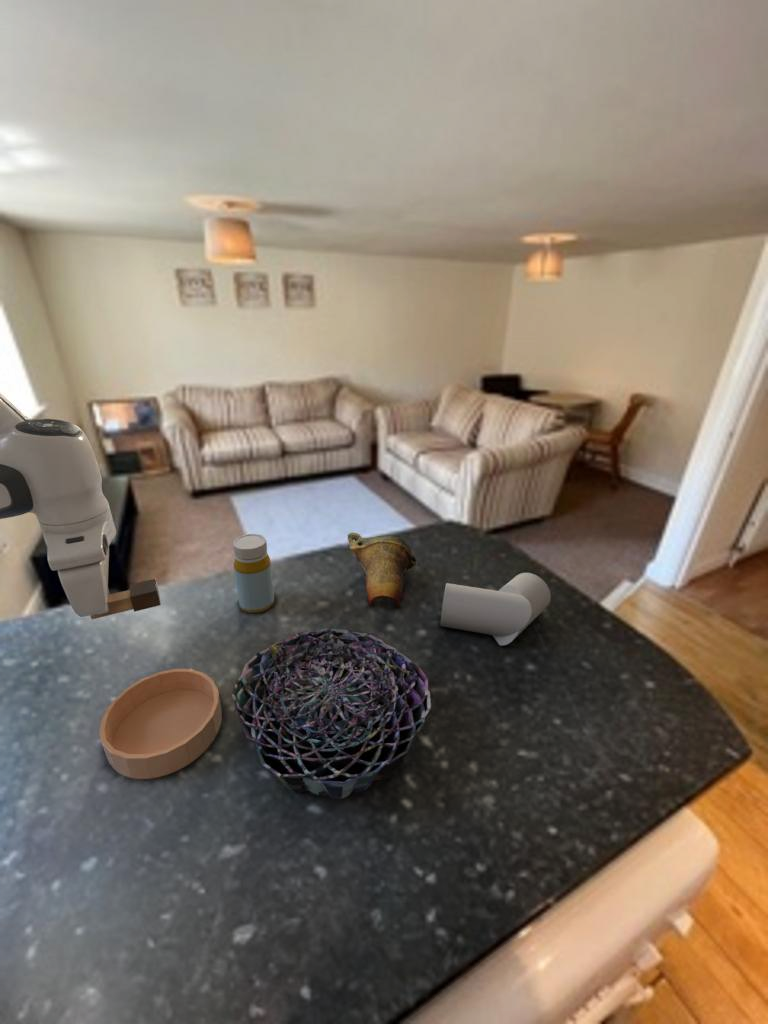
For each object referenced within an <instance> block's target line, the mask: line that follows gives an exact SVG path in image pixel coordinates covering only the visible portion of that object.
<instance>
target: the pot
mask: <svg viewBox="0 0 768 1024" xmlns="http://www.w3.org/2000/svg"><path fill="white" fill-rule="evenodd" d="M347 541H348V544H349V549H350V550H351V551H352V554H353V555H354V557H355V559H356V561H357V562H358V563H359V564H361V566H362V568H363V571H364V573H365V576H366V577H365V582H366V586H365V587H366V594H367V599H368V602H369V606H372V602H373V600H374V599H376V598H378V597H389V598H391V599H393V600H395V601H396V605H395V606H396V608H399V603H400V600H401V598H402V596H403V588H404V573H405V572H409V571H410V570H411V569H412V568H414V567H416V566H417V565H418V563H417V558H416V557H415V556H414V555H413V554H412V549H411V547H410V546H409V544H408V543H407V542H406V541H405V540H404V539H403V538H401V537H398V536H395V535H394V536H393V535H377V536H373V537H362V536H361V534H360V533H357V532H350V533H348V534H347Z"/></svg>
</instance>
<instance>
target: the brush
mask: <svg viewBox="0 0 768 1024" xmlns="http://www.w3.org/2000/svg"><path fill="white" fill-rule="evenodd" d="M107 601H108V604H109V611H108V612H107V613H103V614H99V615H98V614H93V615H90V618H91V620H95V619H96V620H97V619H100V618H103V617H108V616H112V615H116V614H120V613H123V612H124V613H125V612H128V611H132V610H133V612H140V611H143V610H147V609H151V608H156V607H159V606H161V596H160V589H159V586H158V582H157V578H151V579H148V580H142V581H138V582H136V583H129V589H127V590H124V591H119V592H115V593H109V595H107Z"/></svg>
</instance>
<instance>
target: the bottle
mask: <svg viewBox="0 0 768 1024" xmlns="http://www.w3.org/2000/svg"><path fill="white" fill-rule="evenodd" d="M232 545H233V554H234V560H233V570H234V571H233V572H234V577H235V586H236V592H237V597H238V599H237V600H238V604H239V608H240V609H241V610H242V611H244V612H246V613H249V614H256V613H257V614H258V613H262V612H264V611H267V610H268V609H270V608H271V607H272V606H273V605H274V604H275V603H274V602H275V592H274V582H273V581H274V580H273V573H272V572H273V571H272V563H271V558H270V556H269V554H268V545H267V539H266V537H265V536H264V535H262V534H260V533H246V534H243V535H240V536H238V537H236V538H235V539H234V540H233V543H232Z"/></svg>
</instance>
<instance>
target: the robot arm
mask: <svg viewBox="0 0 768 1024" xmlns="http://www.w3.org/2000/svg"><path fill="white" fill-rule="evenodd" d="M102 486H103V478H102V475H101V470H100V466H99V463H98V460H97V457H96V454H95V452H94V448H93V447H92V444H91V442H90V440H89V438H88V437H87V435H86V433H85V432H84V431H83V430H82V428H81V427H80V426H78V425H77V424H74V423H72V422H69V421H68V420H67V421H66V420H62V419H56V418H55V419H54V418H33V419H31V418H29V417H28V416H27V415H26V414H25V413H24V412H22V411H21V410H20V409H19V408H18V407H16V406H15V405H14V404H13V403H12V402H11V401H10V400H9V399H8V398H7V397H5V396H4V395H3V394H2V393H1V392H0V520H2V519H4V520H5V519H8V518H9V519H10V518H14V517H19V516H23V515H25V514H27V513H29V514H30V513H31V514H33V515H35V516H36V519H37V522H38V524H39V526H40V527H39V528H40V530H41V532H42V537H43V540H44V543H45V545H46V556H47V557H46V558H47V563H48V566H49V568H50V570H51V571H57V575H58V577H59V581H60V584H61V587H62V589H63V591H64V593H65V595H66V598H67V600H68V602H69V604H70V606H71V609H72V610H73V612H74V613H75V615H76V616H78V617H80V618H84V617H88V616H91V615H93V614H98V615H99V614H103V613H107V612H108V611H109V604H108V601H107V595H110V591H109V565H110V563H109V562H110V545H111V543H112V540H113V539H114V538H115V537H116V535H117V529H116V526H115V521H114V517H113V514H112V511H111V507H110V504H109V501H108V499H107V497H106V496H105V494H104V493H103V489H102Z"/></svg>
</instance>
